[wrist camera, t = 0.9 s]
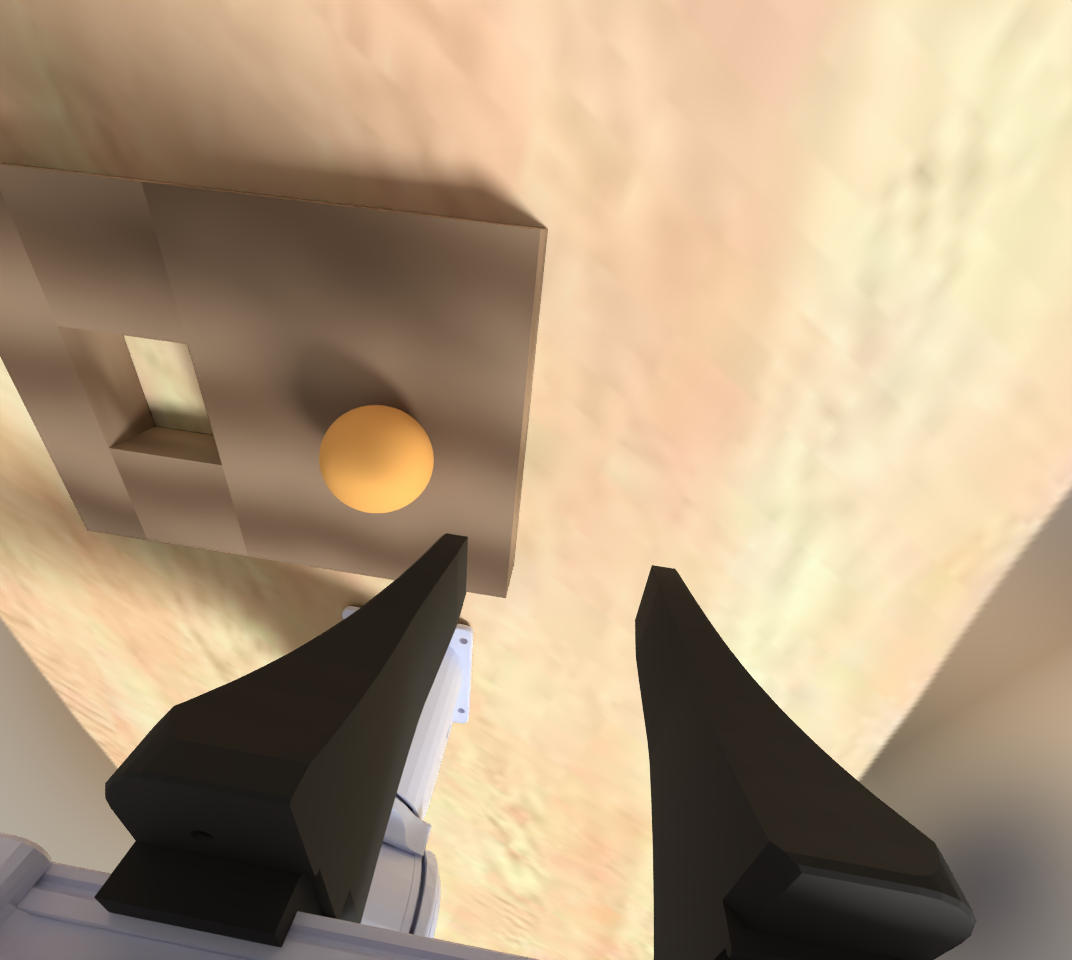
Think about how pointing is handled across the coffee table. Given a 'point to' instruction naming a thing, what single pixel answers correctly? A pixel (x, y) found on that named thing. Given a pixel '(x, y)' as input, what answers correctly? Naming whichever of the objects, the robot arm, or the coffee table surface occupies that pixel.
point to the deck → (271, 362)
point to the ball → (376, 459)
